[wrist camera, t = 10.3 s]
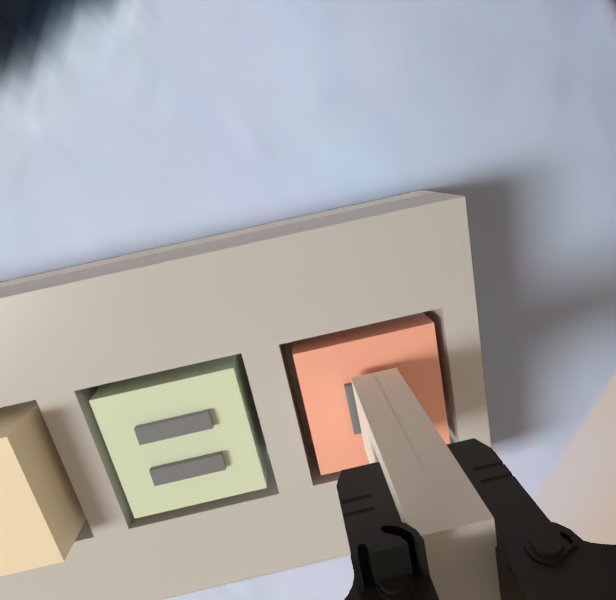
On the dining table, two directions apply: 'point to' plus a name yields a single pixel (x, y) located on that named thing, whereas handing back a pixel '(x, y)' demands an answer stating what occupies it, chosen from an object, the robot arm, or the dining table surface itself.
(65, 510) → the key sand
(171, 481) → the key sage
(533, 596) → the robot arm
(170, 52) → the dining table surface
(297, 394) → the keypad
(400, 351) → the key coral
